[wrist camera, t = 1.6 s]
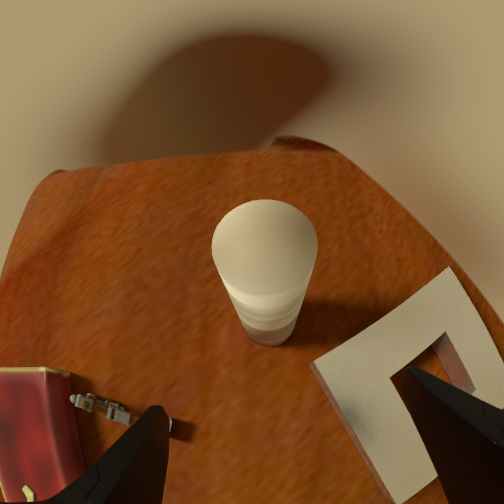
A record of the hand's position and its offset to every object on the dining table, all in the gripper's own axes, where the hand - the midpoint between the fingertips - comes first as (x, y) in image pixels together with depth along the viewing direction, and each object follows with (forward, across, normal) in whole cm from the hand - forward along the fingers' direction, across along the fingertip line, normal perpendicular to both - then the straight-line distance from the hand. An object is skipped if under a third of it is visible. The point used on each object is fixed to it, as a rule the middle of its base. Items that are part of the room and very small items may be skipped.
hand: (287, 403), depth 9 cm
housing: (+7, -12, +10) cm, 17 cm away
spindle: (+13, 0, +4) cm, 13 cm away
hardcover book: (+3, +24, +15) cm, 28 cm away
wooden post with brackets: (+8, +12, +10) cm, 18 cm away
